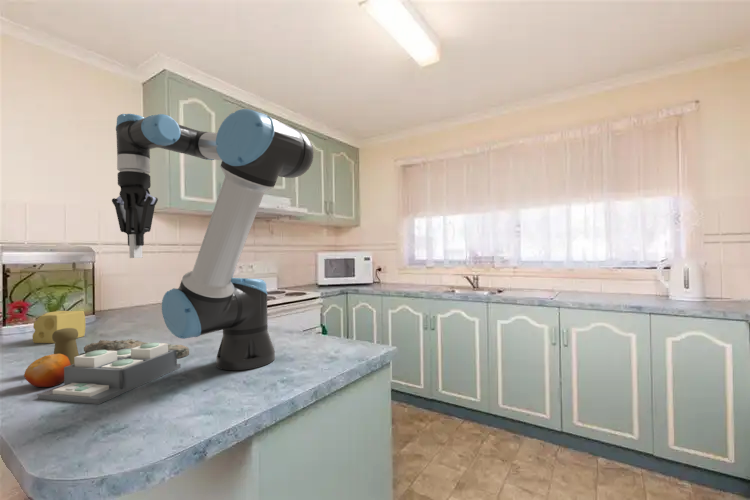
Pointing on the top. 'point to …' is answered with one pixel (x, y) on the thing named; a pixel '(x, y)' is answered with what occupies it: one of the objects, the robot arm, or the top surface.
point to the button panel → (109, 379)
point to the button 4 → (149, 350)
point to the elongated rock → (130, 346)
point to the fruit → (47, 370)
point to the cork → (66, 343)
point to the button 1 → (95, 358)
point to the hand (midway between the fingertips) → (136, 257)
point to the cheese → (58, 324)
